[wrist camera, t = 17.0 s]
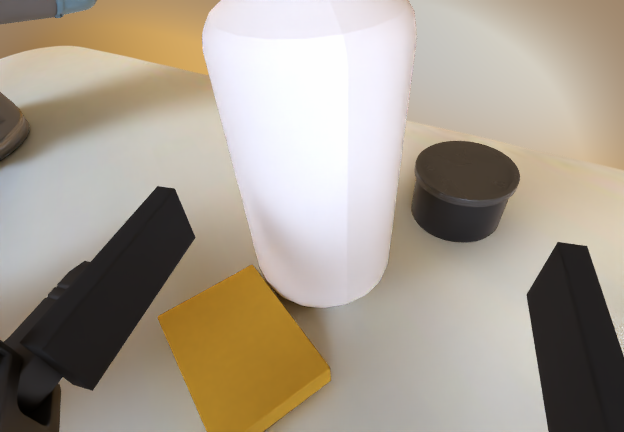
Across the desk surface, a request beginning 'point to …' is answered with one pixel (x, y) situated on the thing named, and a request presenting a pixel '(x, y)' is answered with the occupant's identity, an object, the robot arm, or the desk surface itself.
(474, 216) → the dark tin
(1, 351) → the robot arm
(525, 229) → the desk surface
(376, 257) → the potion bottle
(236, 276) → the mustard block
